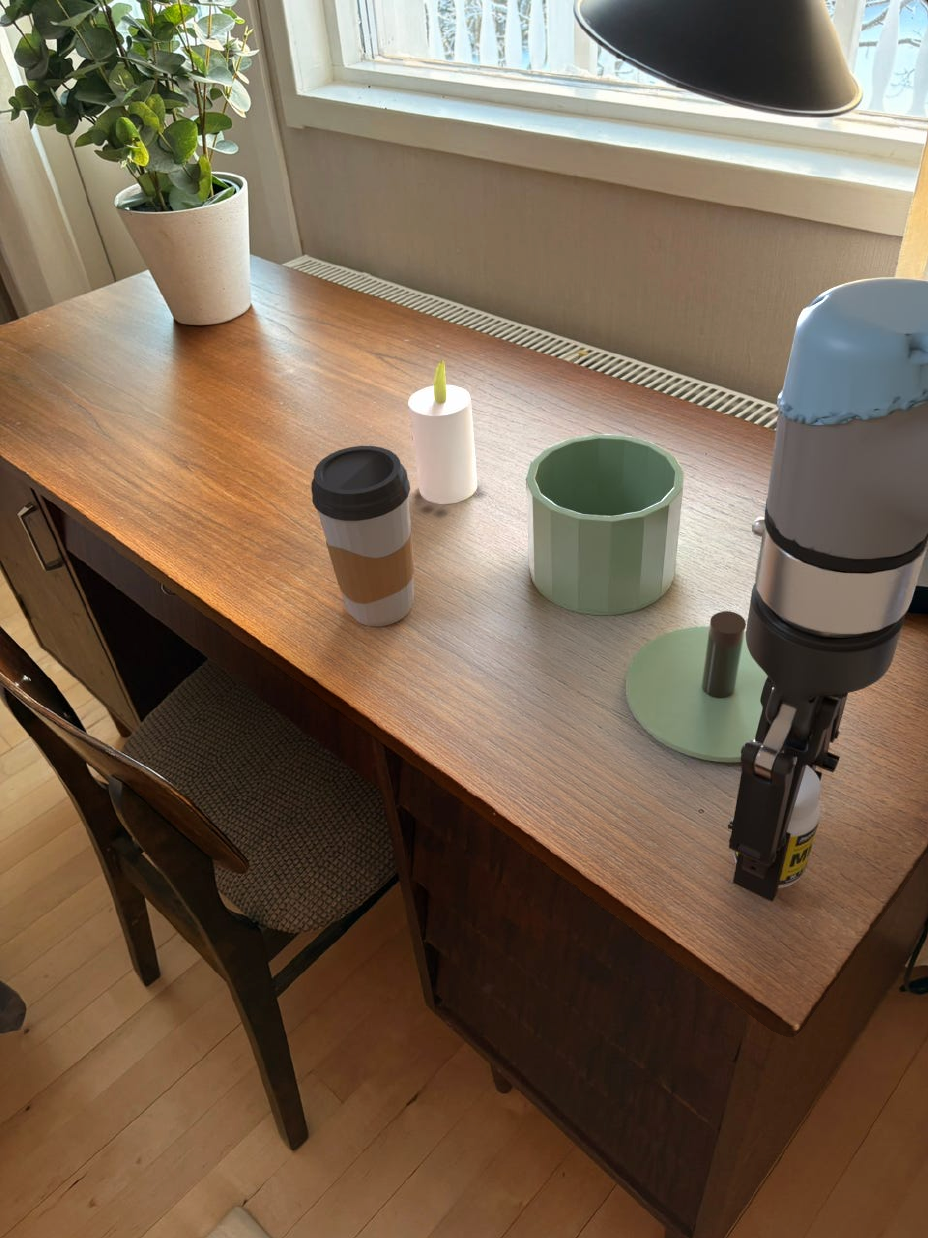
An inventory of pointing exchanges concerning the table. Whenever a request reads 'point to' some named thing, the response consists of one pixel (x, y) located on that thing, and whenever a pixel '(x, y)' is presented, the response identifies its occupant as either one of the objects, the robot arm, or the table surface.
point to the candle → (443, 441)
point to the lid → (699, 689)
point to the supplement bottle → (801, 828)
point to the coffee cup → (367, 531)
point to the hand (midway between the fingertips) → (770, 857)
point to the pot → (603, 523)
